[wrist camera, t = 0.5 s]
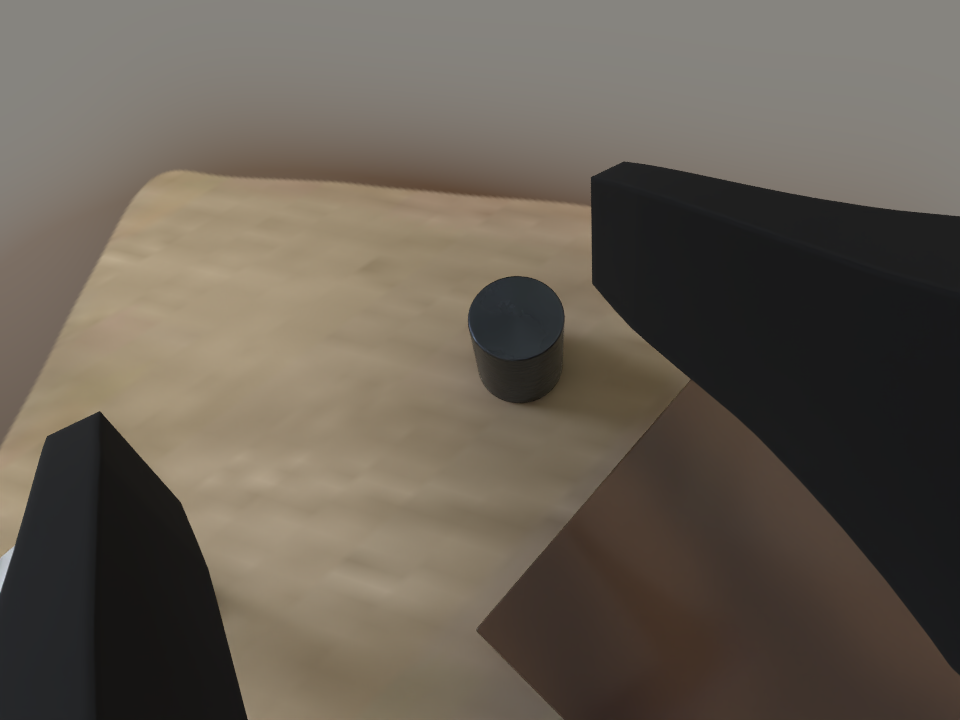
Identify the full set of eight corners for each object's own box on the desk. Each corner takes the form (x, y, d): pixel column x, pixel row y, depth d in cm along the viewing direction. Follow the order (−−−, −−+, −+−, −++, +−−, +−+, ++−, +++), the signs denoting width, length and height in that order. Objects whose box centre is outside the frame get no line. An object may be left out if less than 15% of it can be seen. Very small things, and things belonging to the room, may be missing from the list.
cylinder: (579, 360, 30) (584, 311, 26) (523, 420, 29) (520, 379, 25) (516, 312, 31) (512, 259, 27) (461, 368, 30) (447, 321, 26)
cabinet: (692, 407, 28) (738, 323, 21) (970, 610, 24) (1139, 587, 17) (494, 641, 25) (474, 629, 18) (776, 923, 21) (888, 1047, 14)
